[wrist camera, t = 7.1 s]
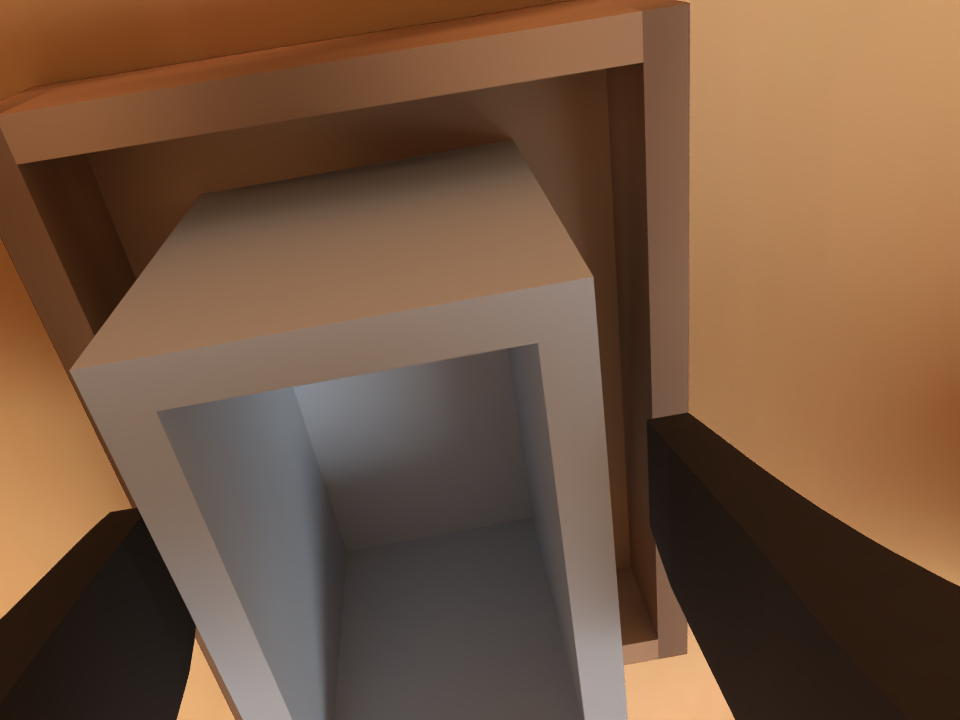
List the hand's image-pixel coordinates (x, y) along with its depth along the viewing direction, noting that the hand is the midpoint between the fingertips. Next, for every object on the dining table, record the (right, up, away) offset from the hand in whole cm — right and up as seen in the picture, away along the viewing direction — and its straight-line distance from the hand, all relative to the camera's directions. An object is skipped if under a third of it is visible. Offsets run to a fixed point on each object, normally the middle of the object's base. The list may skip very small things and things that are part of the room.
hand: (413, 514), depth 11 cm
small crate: (0, +2, +3) cm, 3 cm away
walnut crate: (0, +2, +3) cm, 4 cm away
